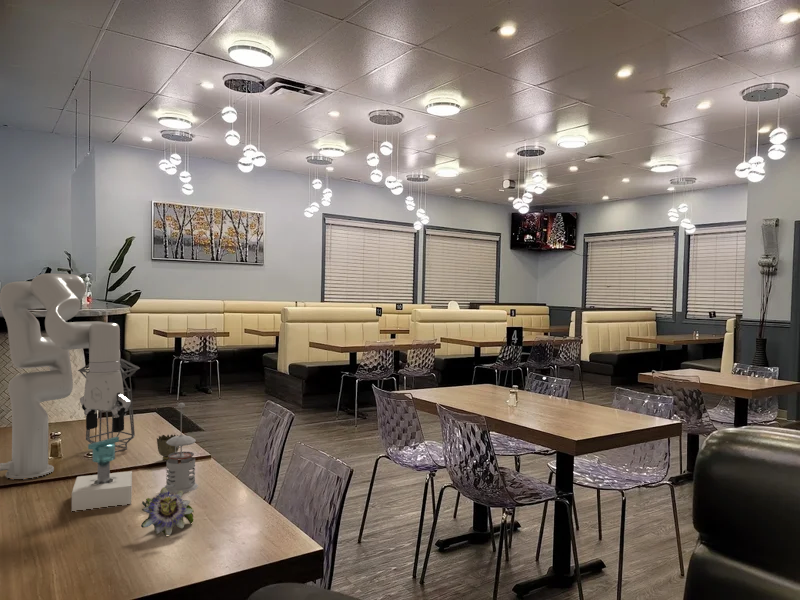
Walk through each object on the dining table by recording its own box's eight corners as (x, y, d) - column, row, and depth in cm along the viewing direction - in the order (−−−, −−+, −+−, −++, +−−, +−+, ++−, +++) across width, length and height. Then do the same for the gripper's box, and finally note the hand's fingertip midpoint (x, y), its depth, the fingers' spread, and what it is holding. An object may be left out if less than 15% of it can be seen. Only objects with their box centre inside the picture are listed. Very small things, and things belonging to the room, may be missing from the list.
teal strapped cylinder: (97, 506, 153) (97, 445, 153) (81, 503, 155) (82, 443, 155) (124, 495, 161) (124, 438, 161) (109, 492, 163) (109, 436, 163)
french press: (164, 495, 162) (165, 407, 161) (160, 483, 172) (161, 400, 172) (200, 490, 166) (201, 404, 166) (195, 478, 176) (195, 397, 176)
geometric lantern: (143, 448, 209) (142, 353, 208) (100, 460, 196) (100, 358, 194) (118, 441, 218) (117, 350, 216) (76, 452, 204) (75, 354, 203)
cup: (174, 463, 192) (174, 439, 192) (152, 463, 192) (152, 439, 192) (183, 457, 199) (183, 434, 199) (162, 456, 199) (162, 433, 199)
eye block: (71, 511, 149) (71, 492, 149) (76, 494, 162) (77, 476, 161) (131, 504, 155) (131, 485, 154) (131, 488, 167) (131, 471, 167)
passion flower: (168, 558, 135) (140, 527, 129) (152, 535, 143) (125, 505, 137) (208, 523, 141) (183, 492, 135) (190, 502, 149) (167, 472, 142)
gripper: (69, 368, 157) (69, 430, 157) (117, 370, 151) (118, 435, 151) (92, 365, 164) (93, 424, 164) (139, 367, 158) (140, 429, 158)
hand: (105, 429), depth 158 cm, fingers open, 9 cm apart
